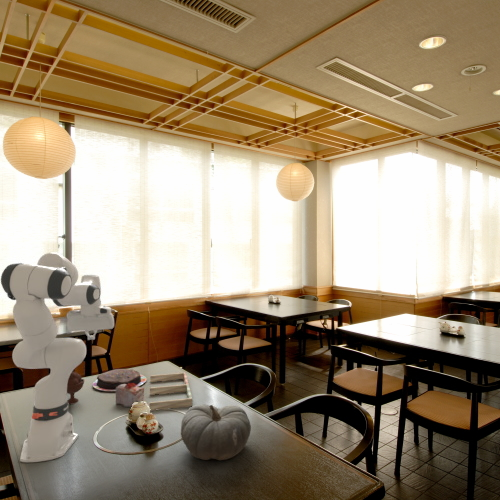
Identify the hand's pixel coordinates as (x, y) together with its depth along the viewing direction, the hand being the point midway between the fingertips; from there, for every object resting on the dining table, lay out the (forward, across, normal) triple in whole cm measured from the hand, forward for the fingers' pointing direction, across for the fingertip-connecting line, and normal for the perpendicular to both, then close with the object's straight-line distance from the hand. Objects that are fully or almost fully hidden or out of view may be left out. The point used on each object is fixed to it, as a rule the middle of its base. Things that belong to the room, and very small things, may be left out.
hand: (91, 339), depth 180 cm
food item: (+32, +17, -2) cm, 36 cm away
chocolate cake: (+32, +10, +30) cm, 45 cm away
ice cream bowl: (+31, -10, +9) cm, 34 cm away
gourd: (+31, +50, -53) cm, 79 cm away
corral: (+31, +36, +8) cm, 48 cm away
